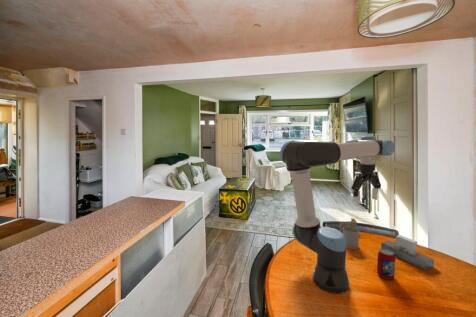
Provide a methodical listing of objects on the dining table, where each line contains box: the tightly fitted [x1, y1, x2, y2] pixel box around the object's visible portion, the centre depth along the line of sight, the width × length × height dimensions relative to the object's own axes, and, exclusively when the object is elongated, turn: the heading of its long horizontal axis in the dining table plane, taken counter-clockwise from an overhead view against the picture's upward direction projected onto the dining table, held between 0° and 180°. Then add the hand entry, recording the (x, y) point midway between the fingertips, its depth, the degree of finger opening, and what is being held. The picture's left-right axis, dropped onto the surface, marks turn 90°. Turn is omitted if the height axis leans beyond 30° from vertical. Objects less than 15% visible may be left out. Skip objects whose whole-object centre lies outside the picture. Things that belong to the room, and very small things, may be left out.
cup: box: [343, 227, 360, 250], centre depth 131 cm, size 8×8×10 cm
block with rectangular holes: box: [380, 240, 435, 271], centre depth 117 cm, size 7×22×4 cm, turn 20°
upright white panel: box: [395, 234, 418, 256], centre depth 116 cm, size 9×3×10 cm, turn 20°
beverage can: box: [376, 248, 396, 280], centre depth 101 cm, size 7×7×12 cm
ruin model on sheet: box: [338, 218, 358, 233], centre depth 148 cm, size 11×3×10 cm, turn 100°
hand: (366, 200), depth 124 cm, fingers open, 13 cm apart
